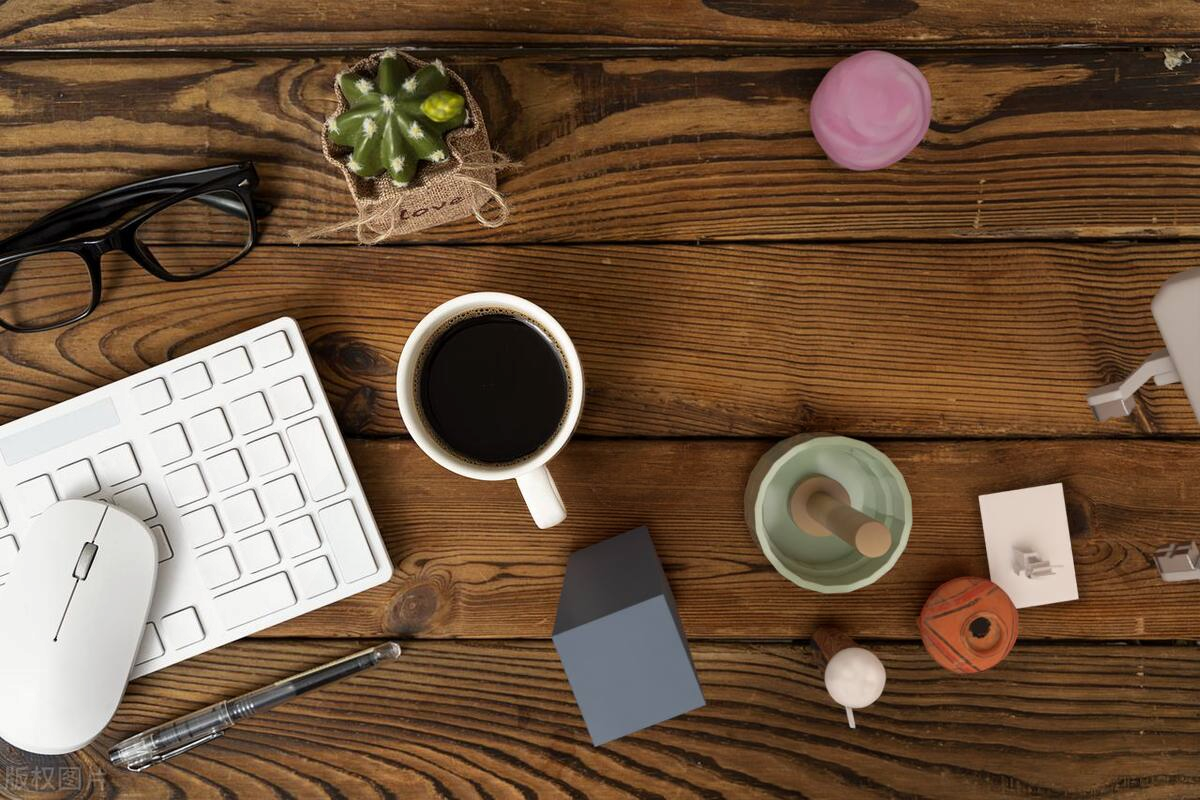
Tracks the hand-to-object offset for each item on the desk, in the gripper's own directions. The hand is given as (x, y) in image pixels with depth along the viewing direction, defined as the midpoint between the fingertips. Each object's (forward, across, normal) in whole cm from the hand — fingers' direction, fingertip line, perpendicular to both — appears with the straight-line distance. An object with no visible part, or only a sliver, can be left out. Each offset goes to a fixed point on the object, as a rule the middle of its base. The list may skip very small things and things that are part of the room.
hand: (1125, 484), depth 47 cm
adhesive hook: (+16, +11, +20) cm, 28 cm away
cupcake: (+16, -27, +20) cm, 37 cm away
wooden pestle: (+26, 0, +9) cm, 27 cm away
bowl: (+26, 0, +10) cm, 28 cm away
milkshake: (+29, +12, +7) cm, 32 cm away
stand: (+39, -1, -3) cm, 39 cm away
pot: (+22, +14, +14) cm, 29 cm away
